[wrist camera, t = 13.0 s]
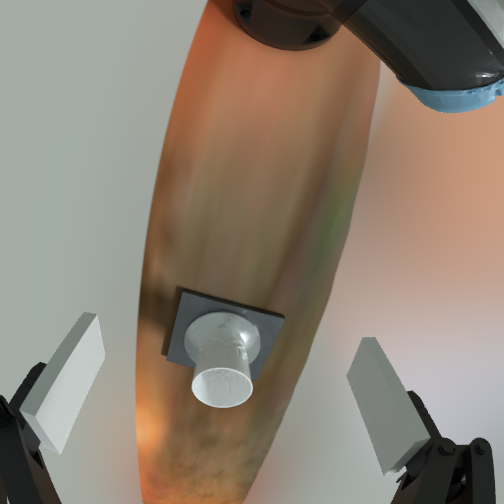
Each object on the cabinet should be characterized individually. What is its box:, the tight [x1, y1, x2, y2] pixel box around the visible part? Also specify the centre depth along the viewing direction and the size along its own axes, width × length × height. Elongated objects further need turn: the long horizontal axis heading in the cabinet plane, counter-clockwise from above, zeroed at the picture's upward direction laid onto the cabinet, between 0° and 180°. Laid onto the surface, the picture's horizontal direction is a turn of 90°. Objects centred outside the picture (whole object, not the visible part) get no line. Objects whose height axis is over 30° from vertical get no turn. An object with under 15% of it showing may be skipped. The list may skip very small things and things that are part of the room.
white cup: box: [192, 327, 252, 408], centre depth 40 cm, size 8×8×10 cm
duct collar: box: [166, 289, 285, 381], centre depth 46 cm, size 14×16×2 cm
